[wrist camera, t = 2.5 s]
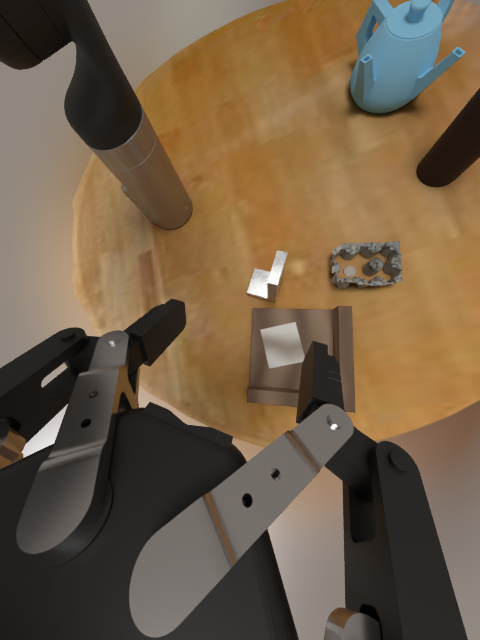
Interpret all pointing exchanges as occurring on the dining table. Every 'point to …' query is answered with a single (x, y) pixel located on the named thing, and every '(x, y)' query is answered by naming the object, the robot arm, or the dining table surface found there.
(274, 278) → the bracket
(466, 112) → the bottle
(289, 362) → the arena
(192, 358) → the dining table surface
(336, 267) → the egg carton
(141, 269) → the dining table surface
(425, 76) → the teapot
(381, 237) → the dining table surface
